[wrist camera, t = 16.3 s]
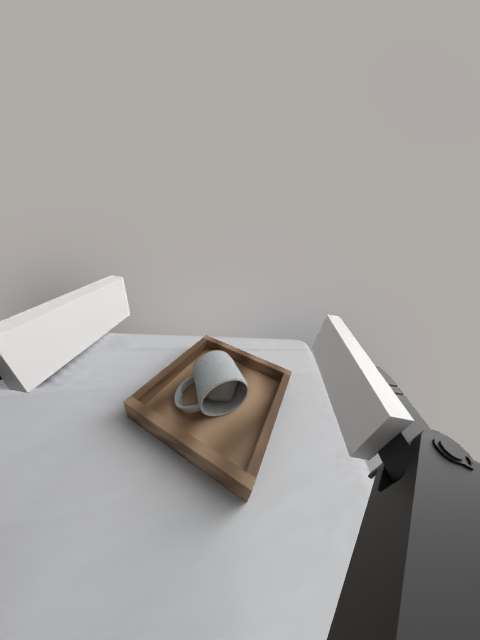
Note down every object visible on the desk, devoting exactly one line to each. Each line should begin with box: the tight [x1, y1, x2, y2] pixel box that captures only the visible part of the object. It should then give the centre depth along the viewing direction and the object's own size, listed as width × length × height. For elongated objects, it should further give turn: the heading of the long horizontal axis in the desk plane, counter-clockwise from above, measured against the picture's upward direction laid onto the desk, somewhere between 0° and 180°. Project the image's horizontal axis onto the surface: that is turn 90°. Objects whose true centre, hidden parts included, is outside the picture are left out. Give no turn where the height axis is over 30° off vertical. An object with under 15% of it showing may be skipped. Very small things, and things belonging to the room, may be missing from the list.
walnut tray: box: [123, 336, 291, 502], centre depth 32 cm, size 20×20×4 cm
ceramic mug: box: [175, 350, 249, 416], centre depth 29 cm, size 11×8×8 cm
